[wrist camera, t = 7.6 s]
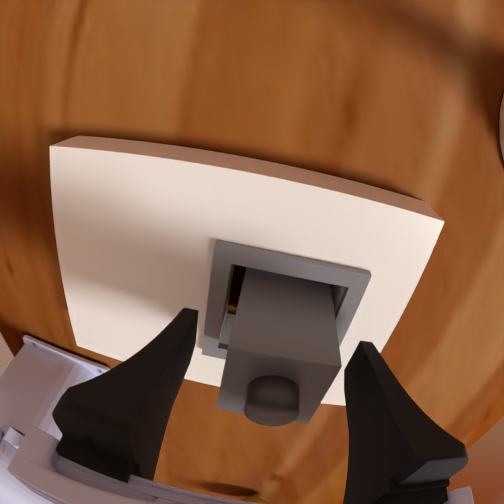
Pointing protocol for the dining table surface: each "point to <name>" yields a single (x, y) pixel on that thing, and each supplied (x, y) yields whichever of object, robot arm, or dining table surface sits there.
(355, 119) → the dining table surface
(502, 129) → the hand bell
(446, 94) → the dining table surface
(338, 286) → the socket board
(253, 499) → the lemon
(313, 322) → the plug
